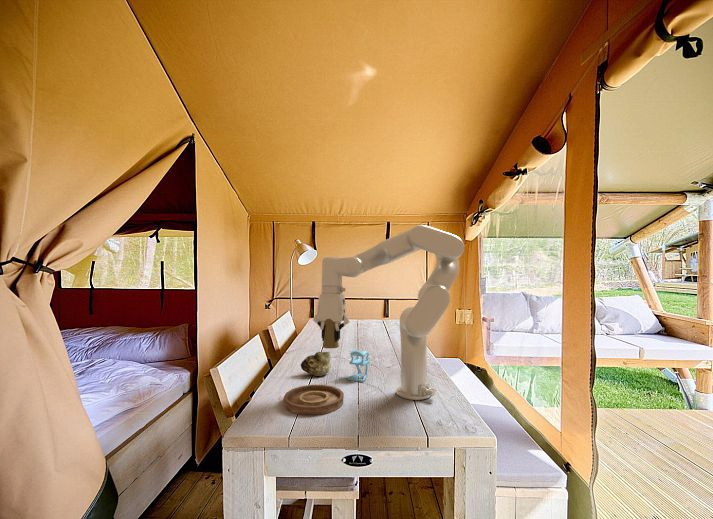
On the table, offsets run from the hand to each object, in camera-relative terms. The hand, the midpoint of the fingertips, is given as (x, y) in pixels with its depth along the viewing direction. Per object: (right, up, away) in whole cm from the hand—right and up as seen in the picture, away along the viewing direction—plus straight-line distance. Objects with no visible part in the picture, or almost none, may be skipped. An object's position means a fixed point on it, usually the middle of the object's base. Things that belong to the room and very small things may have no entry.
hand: (330, 340), depth 122 cm
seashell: (-7, -20, +22) cm, 31 cm away
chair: (+11, -20, +17) cm, 29 cm away
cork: (0, -2, 0) cm, 2 cm away
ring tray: (-5, -19, -8) cm, 22 cm away
